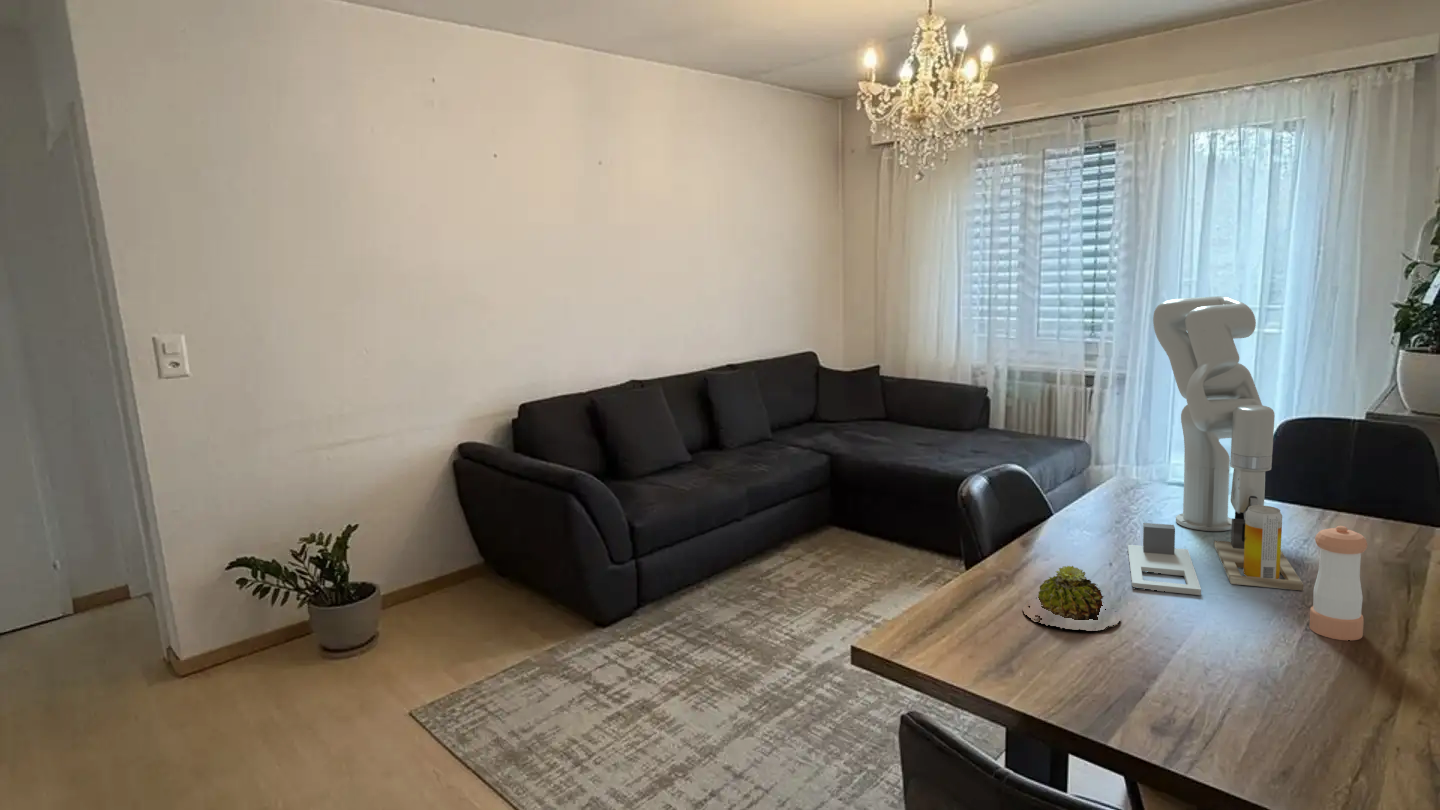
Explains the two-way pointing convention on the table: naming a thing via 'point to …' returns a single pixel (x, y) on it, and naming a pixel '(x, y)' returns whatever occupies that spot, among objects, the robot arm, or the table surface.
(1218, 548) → the wooden board with cutout
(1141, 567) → the white board with cutout
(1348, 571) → the pepper shaker
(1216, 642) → the table surface
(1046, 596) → the cactus
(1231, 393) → the robot arm
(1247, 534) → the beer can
